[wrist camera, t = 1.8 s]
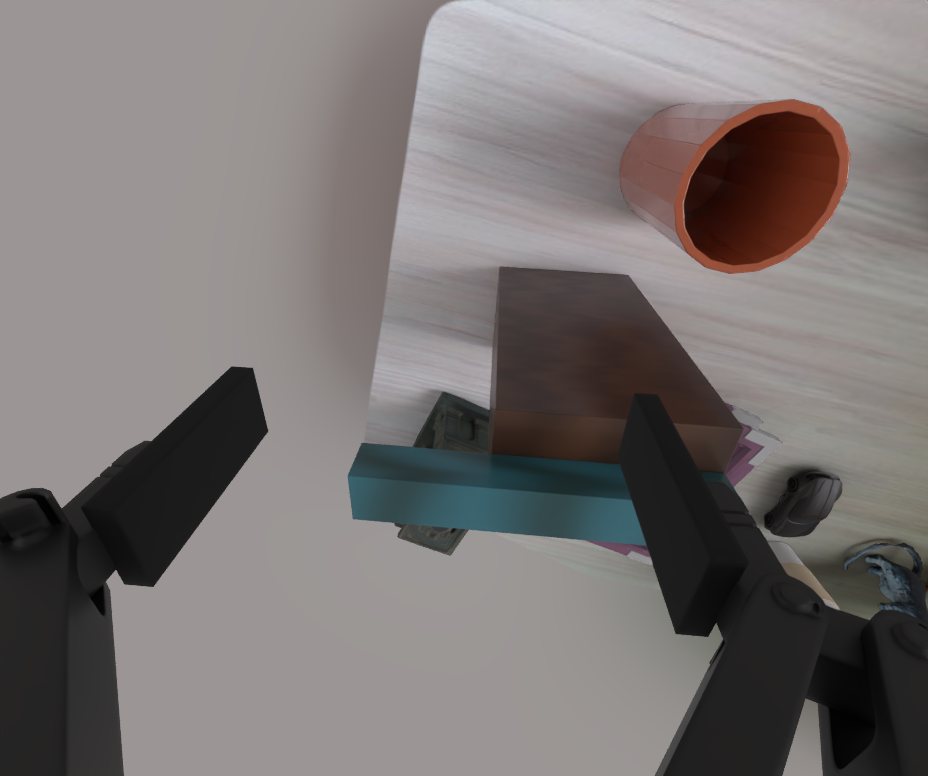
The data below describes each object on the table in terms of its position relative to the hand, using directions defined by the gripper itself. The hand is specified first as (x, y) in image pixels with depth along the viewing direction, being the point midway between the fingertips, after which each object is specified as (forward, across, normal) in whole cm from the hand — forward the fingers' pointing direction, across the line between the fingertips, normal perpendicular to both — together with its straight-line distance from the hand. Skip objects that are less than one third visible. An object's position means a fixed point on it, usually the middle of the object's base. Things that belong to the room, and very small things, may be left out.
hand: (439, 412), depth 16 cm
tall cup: (+36, +18, +5) cm, 41 cm away
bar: (+8, +5, -10) cm, 14 cm away
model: (+37, -3, -30) cm, 47 cm away
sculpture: (+37, +61, -47) cm, 85 cm away
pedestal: (+36, +9, -10) cm, 39 cm away
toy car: (+37, +46, -36) cm, 69 cm away
